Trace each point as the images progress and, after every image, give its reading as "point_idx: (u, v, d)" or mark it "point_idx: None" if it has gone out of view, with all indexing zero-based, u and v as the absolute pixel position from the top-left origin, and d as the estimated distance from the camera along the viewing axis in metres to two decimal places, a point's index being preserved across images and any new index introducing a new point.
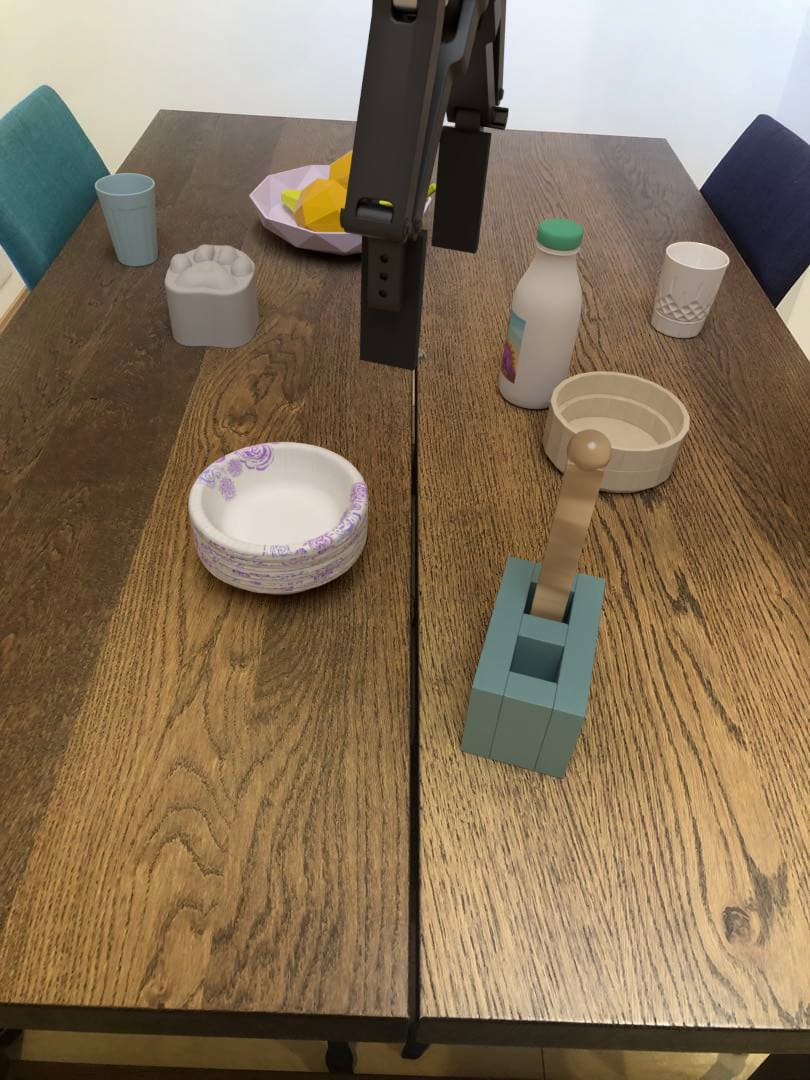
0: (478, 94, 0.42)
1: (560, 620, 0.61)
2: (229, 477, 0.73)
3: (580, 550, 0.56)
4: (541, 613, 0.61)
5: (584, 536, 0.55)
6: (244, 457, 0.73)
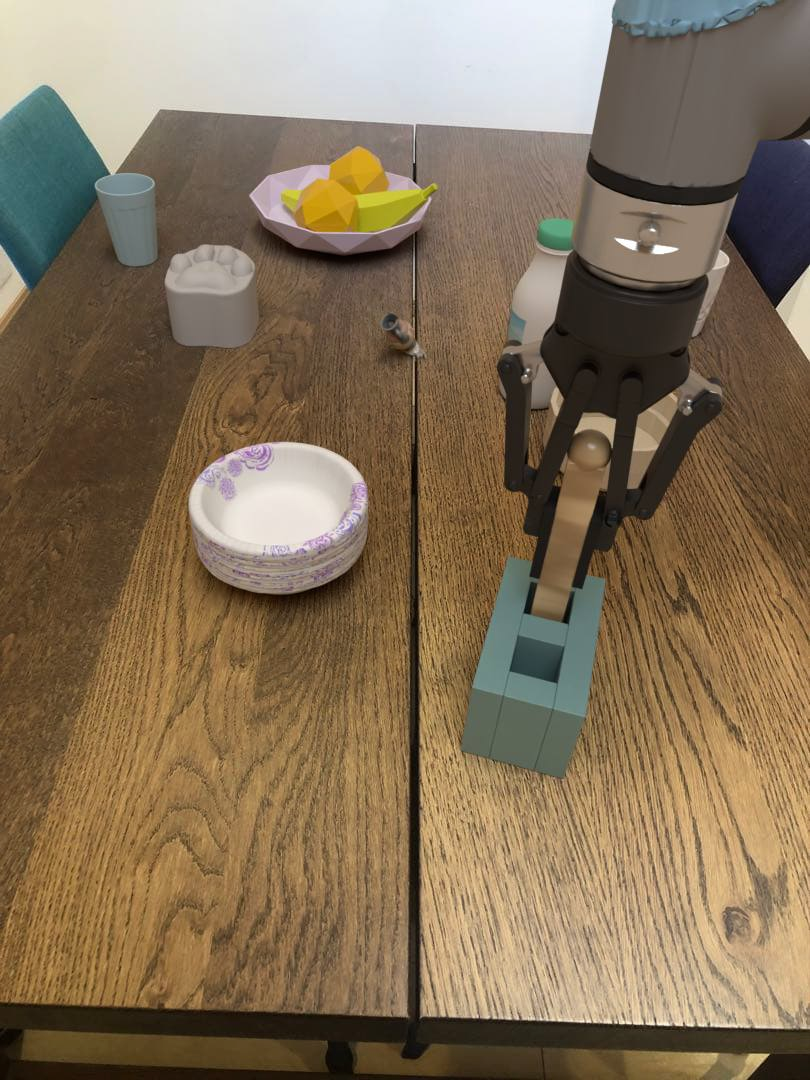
0: None
1: (560, 620, 0.61)
2: (229, 477, 0.73)
3: (580, 550, 0.56)
4: (542, 612, 0.61)
5: (584, 536, 0.55)
6: (244, 457, 0.73)
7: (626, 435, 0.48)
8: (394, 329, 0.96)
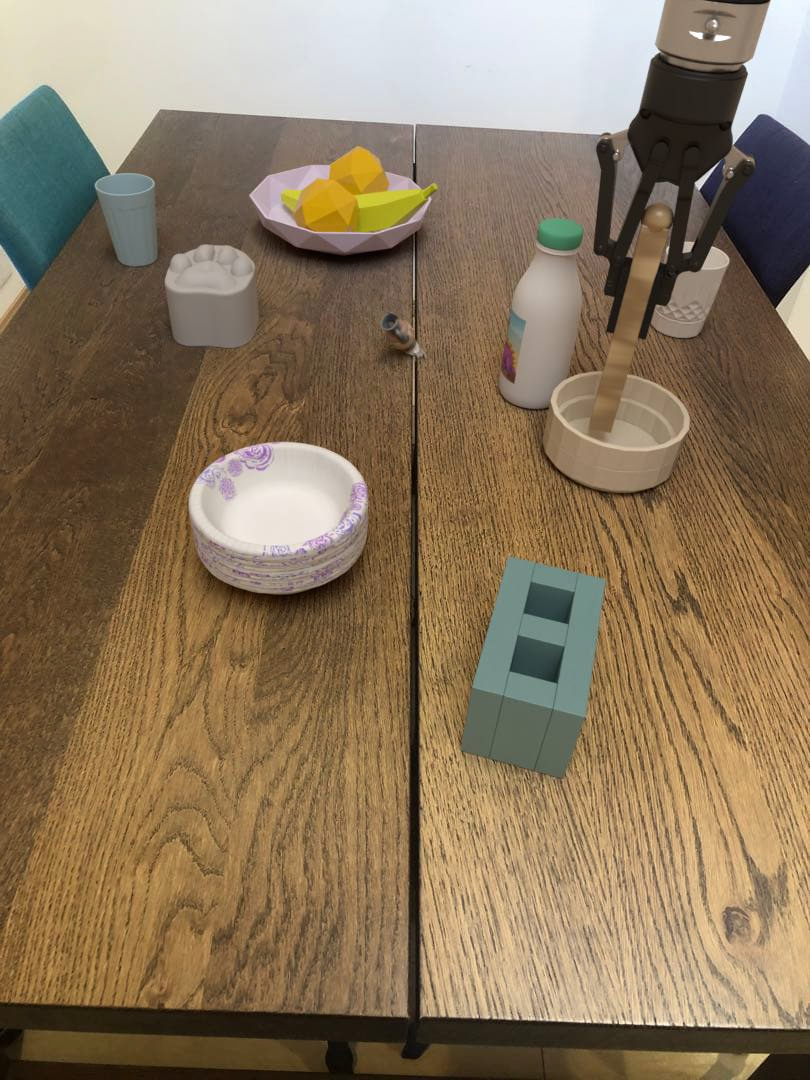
0: None
1: (627, 371, 0.82)
2: (229, 477, 0.73)
3: (646, 303, 0.76)
4: (613, 365, 0.82)
5: (650, 290, 0.76)
6: (244, 457, 0.73)
7: (686, 197, 0.69)
8: (394, 329, 0.96)
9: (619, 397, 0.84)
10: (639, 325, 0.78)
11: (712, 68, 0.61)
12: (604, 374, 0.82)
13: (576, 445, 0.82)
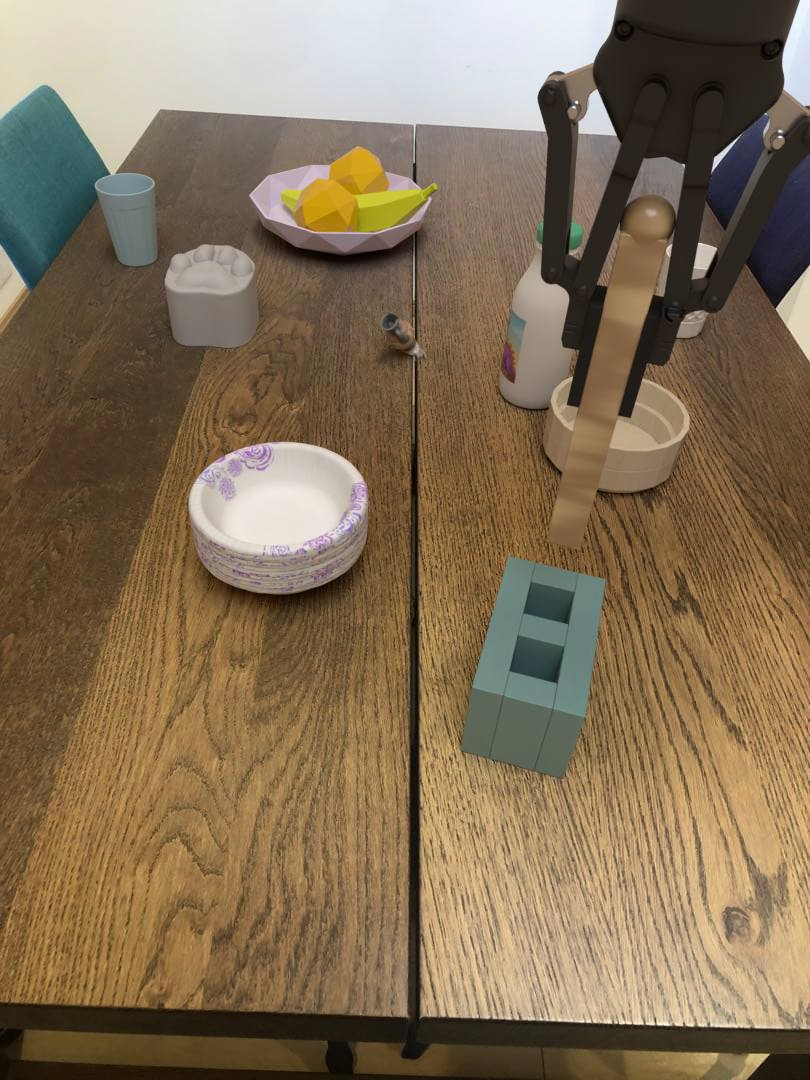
0: None
1: (602, 463, 0.51)
2: (229, 477, 0.73)
3: (631, 362, 0.46)
4: (580, 454, 0.51)
5: (637, 341, 0.45)
6: (244, 457, 0.73)
7: (698, 183, 0.39)
8: (394, 329, 0.96)
9: (591, 500, 0.53)
10: (620, 395, 0.48)
11: None
12: (566, 467, 0.52)
13: None
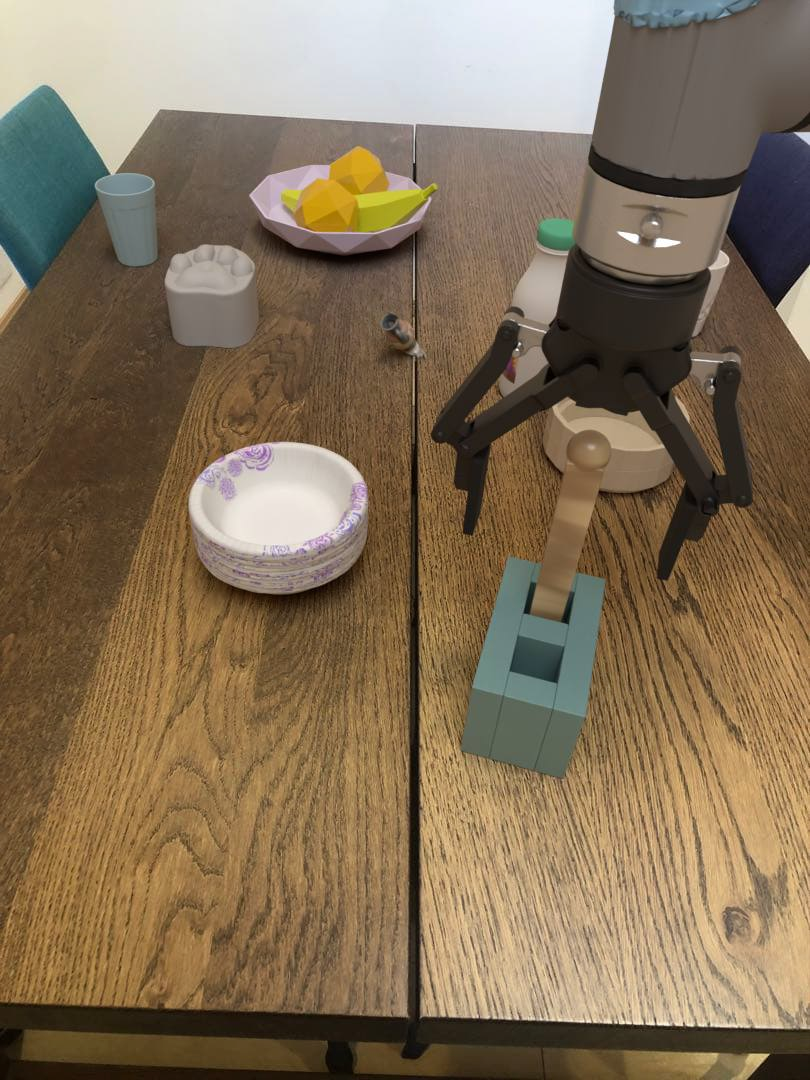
0: None
1: (559, 620, 0.61)
2: (229, 477, 0.73)
3: (579, 550, 0.56)
4: (541, 613, 0.61)
5: (584, 536, 0.55)
6: (244, 457, 0.73)
7: (662, 425, 0.47)
8: (394, 329, 0.96)
9: None
10: (571, 573, 0.57)
11: (655, 279, 0.41)
12: None
13: None
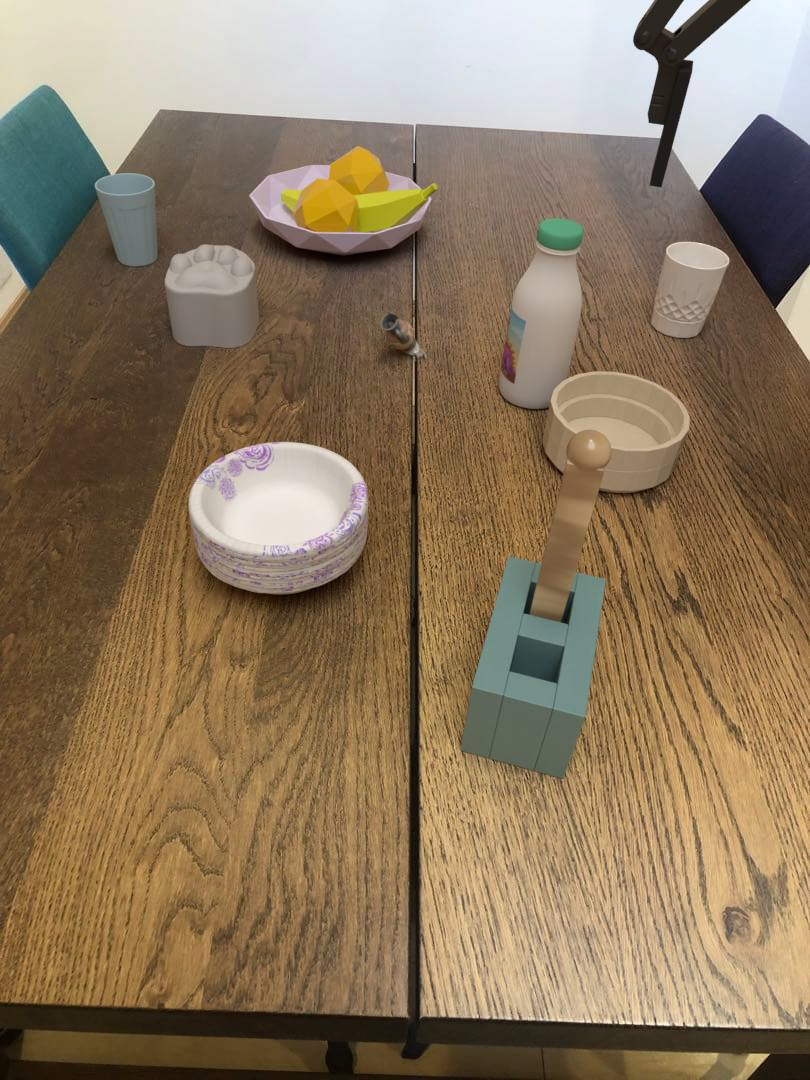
0: None
1: (559, 620, 0.61)
2: (229, 477, 0.73)
3: (579, 550, 0.56)
4: (541, 613, 0.61)
5: (584, 536, 0.55)
6: (244, 457, 0.73)
7: None
8: (394, 329, 0.96)
9: None
10: (571, 573, 0.57)
11: None
12: None
13: None
